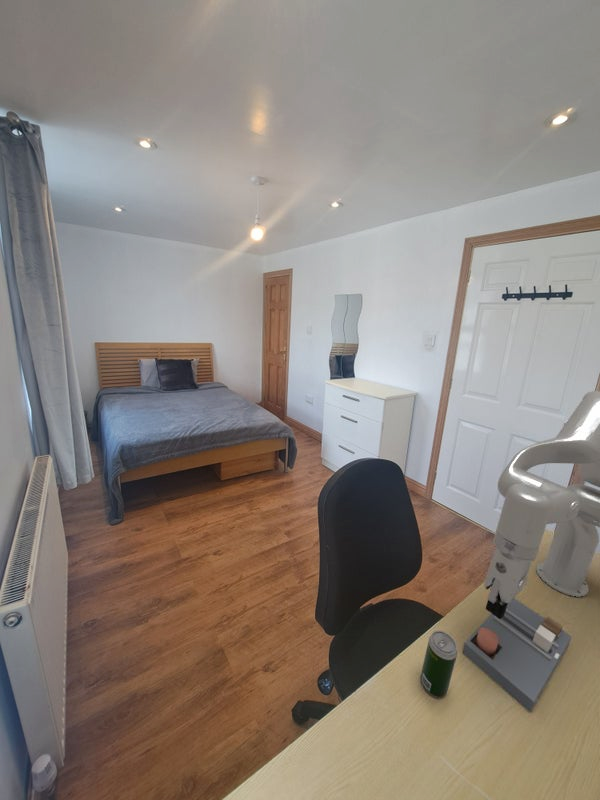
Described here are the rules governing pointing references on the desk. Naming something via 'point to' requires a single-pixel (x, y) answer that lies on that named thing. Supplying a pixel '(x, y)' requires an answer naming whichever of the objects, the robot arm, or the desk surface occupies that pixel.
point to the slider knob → (543, 638)
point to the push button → (487, 641)
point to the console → (518, 653)
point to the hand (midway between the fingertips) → (494, 612)
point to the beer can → (438, 663)
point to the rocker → (552, 626)
